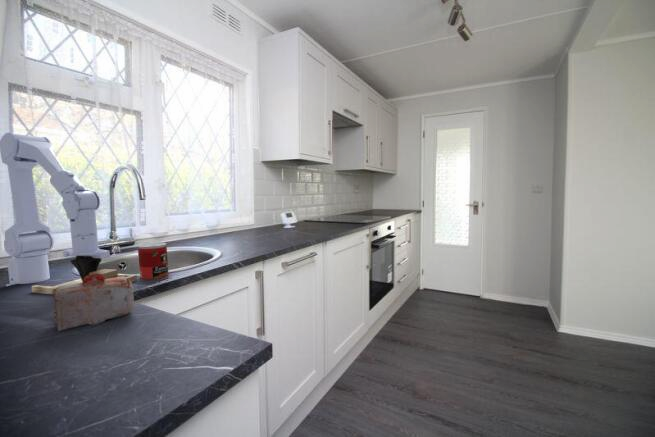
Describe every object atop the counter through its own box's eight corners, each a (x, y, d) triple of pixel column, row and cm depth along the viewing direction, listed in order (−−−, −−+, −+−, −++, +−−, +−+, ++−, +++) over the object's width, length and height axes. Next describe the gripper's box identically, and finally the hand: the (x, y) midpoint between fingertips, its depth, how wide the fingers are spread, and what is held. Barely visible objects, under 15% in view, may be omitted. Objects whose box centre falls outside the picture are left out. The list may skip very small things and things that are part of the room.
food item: (129, 306, 76) (126, 266, 75) (137, 315, 71) (133, 272, 70) (55, 323, 67) (50, 277, 66) (56, 335, 61) (51, 286, 60)
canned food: (157, 283, 94) (154, 247, 93) (134, 282, 96) (131, 246, 95) (174, 276, 102) (172, 242, 101) (152, 275, 103) (150, 242, 102)
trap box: (32, 296, 85) (31, 286, 84) (88, 280, 99) (87, 271, 99) (86, 302, 79) (85, 291, 79) (137, 284, 94) (136, 275, 94)
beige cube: (90, 289, 86) (88, 273, 85) (106, 284, 90) (104, 268, 90) (103, 290, 85) (101, 274, 84) (118, 285, 89) (117, 269, 89)
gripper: (49, 236, 86) (54, 285, 87) (90, 237, 82) (94, 289, 83) (76, 232, 92) (80, 278, 94) (115, 233, 88) (119, 281, 90)
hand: (88, 282), depth 89 cm, fingers closed
